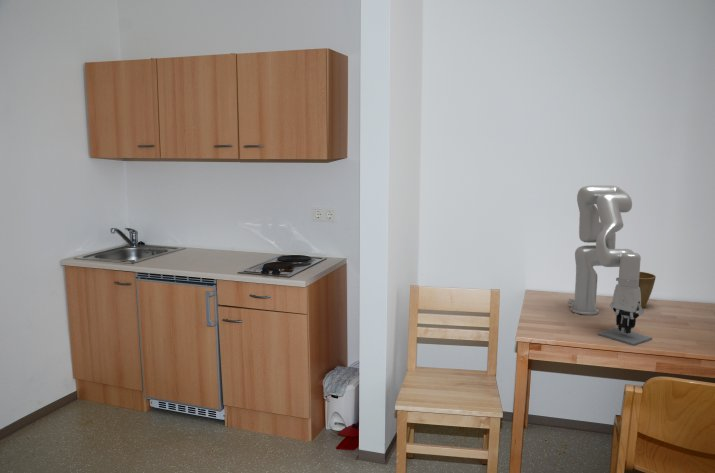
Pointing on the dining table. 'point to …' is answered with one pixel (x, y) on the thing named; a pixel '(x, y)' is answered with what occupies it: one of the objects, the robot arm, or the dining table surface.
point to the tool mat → (625, 336)
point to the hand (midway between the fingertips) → (625, 325)
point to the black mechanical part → (624, 322)
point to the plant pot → (646, 286)
